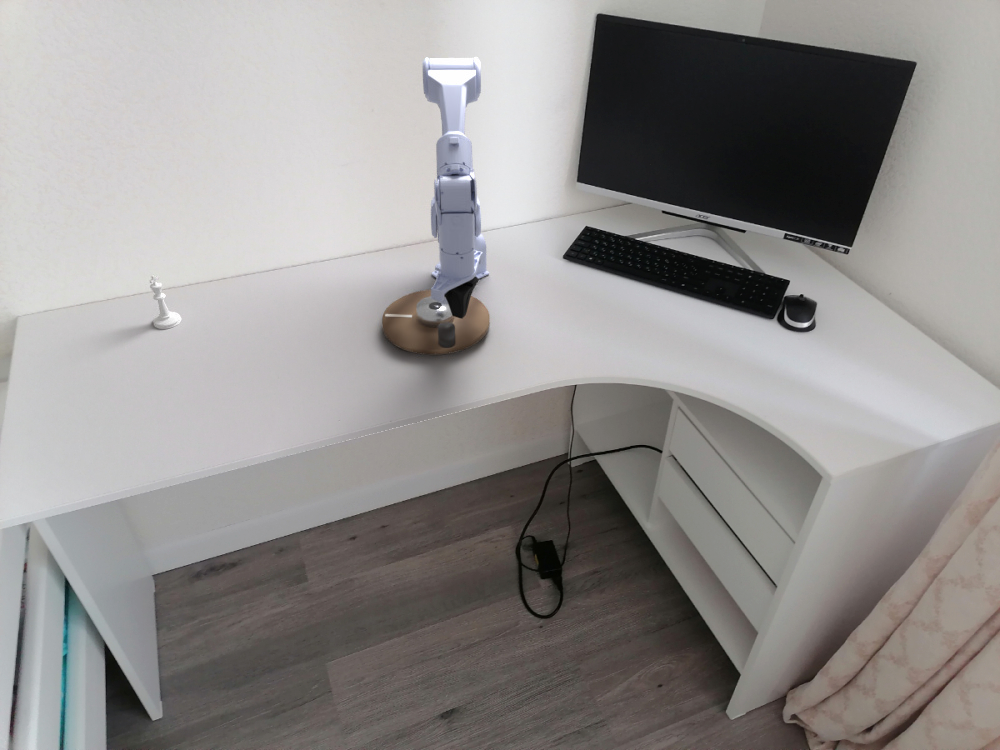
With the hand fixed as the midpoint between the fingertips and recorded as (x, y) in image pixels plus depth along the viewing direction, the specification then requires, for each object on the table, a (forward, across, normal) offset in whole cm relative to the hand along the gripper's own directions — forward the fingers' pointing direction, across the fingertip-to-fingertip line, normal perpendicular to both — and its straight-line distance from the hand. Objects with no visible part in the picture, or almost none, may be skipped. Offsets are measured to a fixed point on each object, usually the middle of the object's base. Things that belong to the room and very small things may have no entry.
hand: (459, 315), depth 128 cm
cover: (+5, -4, -7) cm, 9 cm away
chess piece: (+7, +18, -53) cm, 57 cm away
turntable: (+6, -4, -7) cm, 10 cm away
